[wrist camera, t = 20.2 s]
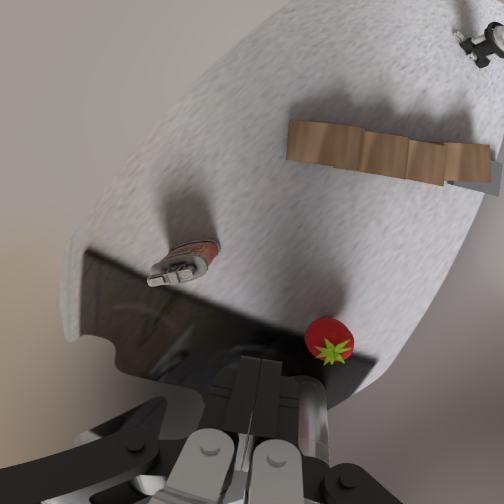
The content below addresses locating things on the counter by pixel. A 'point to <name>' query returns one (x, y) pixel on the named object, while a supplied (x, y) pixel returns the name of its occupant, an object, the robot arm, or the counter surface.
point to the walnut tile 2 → (385, 155)
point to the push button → (484, 44)
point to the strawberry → (329, 340)
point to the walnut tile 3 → (426, 162)
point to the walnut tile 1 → (326, 144)
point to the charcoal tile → (484, 187)
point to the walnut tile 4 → (467, 162)
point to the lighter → (184, 262)
